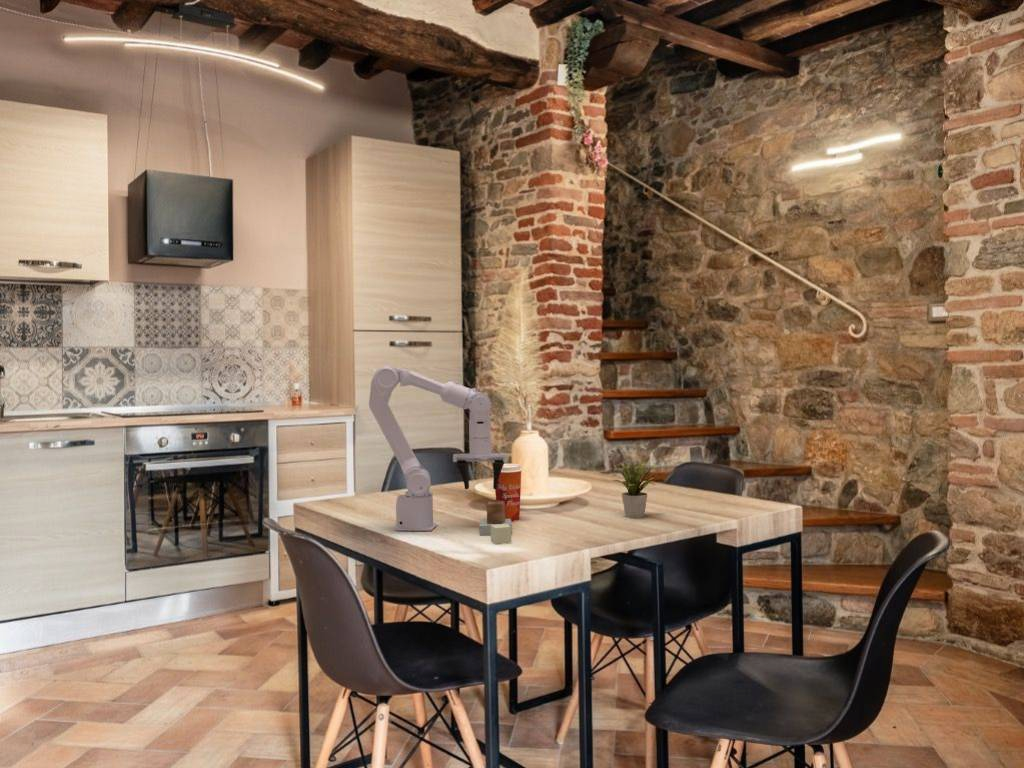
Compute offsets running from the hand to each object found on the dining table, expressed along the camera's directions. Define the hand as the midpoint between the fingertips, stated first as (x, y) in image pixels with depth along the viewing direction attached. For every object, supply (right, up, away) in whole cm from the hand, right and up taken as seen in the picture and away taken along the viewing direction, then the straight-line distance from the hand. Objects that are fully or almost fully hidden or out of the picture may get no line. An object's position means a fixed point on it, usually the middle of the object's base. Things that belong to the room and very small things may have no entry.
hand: (481, 488), depth 219 cm
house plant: (+43, -9, +8) cm, 44 cm away
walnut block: (+4, -8, -8) cm, 12 cm away
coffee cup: (+7, -10, +8) cm, 15 cm away
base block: (+4, -11, -8) cm, 14 cm away
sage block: (+6, -11, -20) cm, 23 cm away
